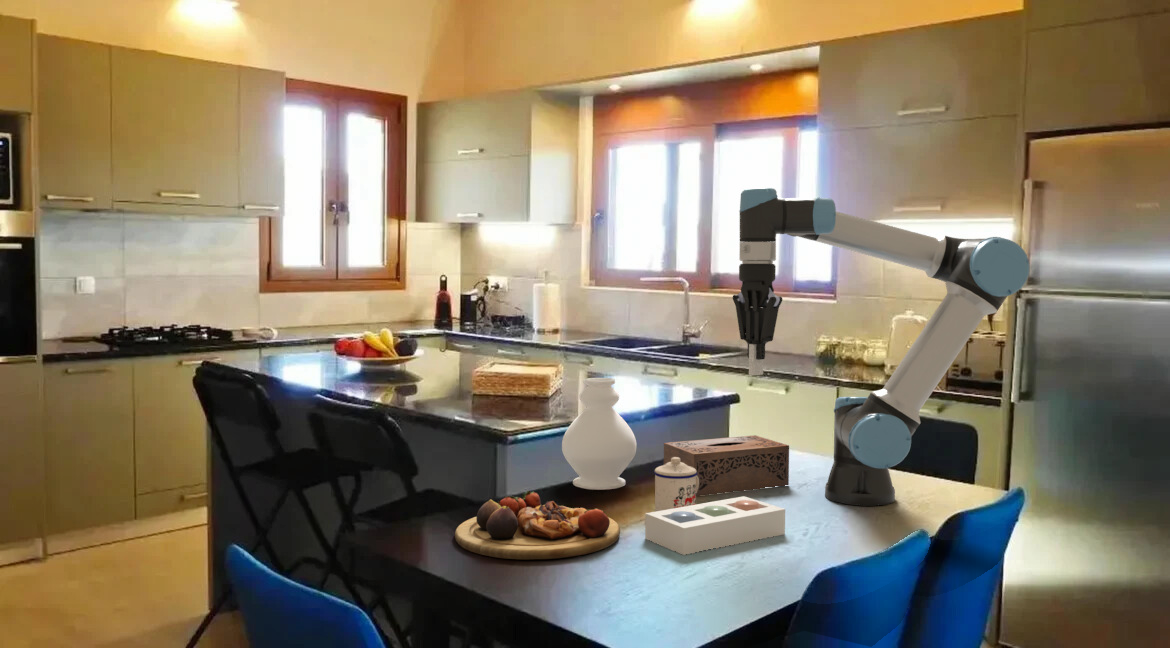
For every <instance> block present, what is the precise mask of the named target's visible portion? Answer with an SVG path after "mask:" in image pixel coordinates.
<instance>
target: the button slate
mask: <svg viewBox="0 0 1170 648" xmlns="http://www.w3.org/2000/svg"><path fill="white" fill-rule="evenodd" d="M671 520H674V521H676V522H679V523H684V522H689V521H695V514H694V513H692V512H685V511H679V512H673V513H671Z"/></svg>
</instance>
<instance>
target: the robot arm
mask: <svg viewBox="0 0 1170 648" xmlns="http://www.w3.org/2000/svg"><path fill="white" fill-rule="evenodd" d="M777 193H778V191H777V190H776V189H775V188H772V187H771V188H770V187H754V188H753V187H752V188H746V189H743V191H742V192H741V193H740V201H739V202H740V203H739V210H738V211H739V259H738V260H739V261H740V262H742V263H740V264H739V266H738V267H739V268H738V279H739V281H740V282H741V286H740V292H739V293H738V294H734V295H732V300H733V303H734V305H735V311H736V317H737V325H738V330H739V337H740V339H741V340H743V341H745V342H746V344H747V359H748V375H749V376H762V375H764V360H765V359H766V358H765V357H766V344H767V343H769V342H773V340H774V335H775V331H776V330H775V329H776V325H777V320H778V314H779V309H780V307H781V304H782V302H783V297H782V296H778V295H776V293H774V291H775V290H774V286H773V282H774V281H775V280H776V267H777V266H776V263H774V262H775V261H777V254H776V253H777V243H776V241H777V235H787V236H790V237H799V238H802V239H805V240H809V241H815V242H817V243H822V244H824V245H825V244H826V245H829V246H833V247H836V248H840V249H844V250H846V251H851V252H853V253H858V254H862V255H865V256H868V257H872V258H876V259H880V260H883V261H888V262H890V263H894V264H898V265H902V266H904V267H910V268H913V269H916V270H919V271H923V272H925V273H926V275H927V277H928V278H931V279H935V280H939V281H942V282H944V284H945V288H946V291H947V292H946V295H945V296H944V298H943V299H942V300H941V302H940V304H939V305H938V306H937V308H936V310H935V311H934V312H933V314H932V316H931V317H930V319H929V320H927V323H926V324H925V326H924V327H923V329H922V330H921V332H920V333H919V335H918V336H917V337H916V339H915V340H914V342H913V343H912V345H911V347H910V348H909V349H908V350H907V352H906V354H905V355H904V357H903V358H902V359H901V361H900V362H899V364H898V366H896V369H894V371H893V373H892V374H891V376H890V377H889V378H888V380H887V381H886V383H885V385H884V386H883V388H882V389H878V390H872V391H871V392H870V393H869V394H868V396H839V397H837V398H836V399H835V402H834V409H833V413H834V421H833V422H834V426H833V427H834V429H833V432H834V434H833V464H832V466H831V469H830V472H829V475H828V479H827V482H826V483H825V487H824V488H825V490H824V492H825V493H824V496H825V498H826V499H828V500H830V501H833V502H837V503H840V504H846V505H851V506H863V507H864V506H865V507H867V506H869V507H873V506H874V507H875V506H884V505H889V504H892V503H894V502H895V499H896V498H895V497H896V490H895V487H894V486H893V483H892V478H891V474H890V471H889V470H890V468H892V467H895V466H897V465H898V464H900V463H901V462H903V461H904V460H905V458H906V457H907V456H908V454H909V452H910V449H911V446H912V445H911V444H912V436H913V435H914V433H915V432H916V430H917V429H918V428H919V426H920V424H921V419H920V418H921V417H920V411H921V410H922V408H923V407H924V405H925V403H926V402H927V400H928V399H929V398H930V396H931V395H932V393H933V392H934V390H935V389H936V387H937V386H938V385H939V383H940V382H941V380H942V379H943V377H944V376H945V374H946V373H947V371H948V370H949V369H950V367H951V366H952V364H953V362H954V361H955V360H956V358H957V356H958V355H959V354H960V352H962V350H963V348H964V347H965V345H966V344H967V342H968V341H969V339H970V338H971V336H972V335H973V334H974V333H975V331H976V329H977V328H978V326H979V325H980V324H981V322H982V320H984V317H986V316H987V315H992V314H996V313H997V312H999V310H1000V308H1001V307H1002V305H1003V304H1004V302H1005V300H1006V299H1007V298H1008V296H1011V295H1013V294H1015V293H1017V292H1018V291H1020V290H1021V289H1022V288H1023V286H1025V284H1026V282H1027V281H1028V278H1029V276H1030V272H1031V271H1030V270H1031V268H1030V262H1029V257H1028V255H1027V253H1026V252H1025V250H1024V249H1023V248H1022V247H1021V245H1019V244H1018V243H1017V242H1015V241H1013V240H1011V239H1009V238H1004V237H1001V236H1000V237H999V236H991V237H986V238H957V237H951V236H947V235H945V234H944V235H943V234H940V235H939V236H937V237H933V236H931V235H925V234H921V233H918V232H914V231H910V230H907V229H903V228H899V227H897V226H893V225H890V224H885V223H881V222H877V221H874V220H869V219H866V218H863V217H859V216H855V215H851V214H848V213H844V212H840V211H837V209H836V203H835V201H834V200H833V199H832V198H829V197H828V198H826V197H795V198H794V197H789V198H786V197H785V198H784V197H778V195H777Z"/></svg>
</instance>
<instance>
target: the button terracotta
mask: <svg viewBox="0 0 1170 648" xmlns="http://www.w3.org/2000/svg"><path fill="white" fill-rule="evenodd" d="M735 508H738V509H741V510H744V511H749V510H754V509H759V503H758V502H755V501H750V500H741V501H737V502H735Z"/></svg>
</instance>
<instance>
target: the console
mask: <svg viewBox="0 0 1170 648" xmlns="http://www.w3.org/2000/svg"><path fill="white" fill-rule="evenodd" d="M741 500H750V501H755V502H758V503H759V509H754V510H749V511H744V510H741V509H738V508H735V502H737V501H741ZM707 506H723V507H726V508H728V514H727V515H722V516H716V517H713V516H710V515H707V514H704V507H707ZM679 511H685V512H692V513H694V514H695V521H689V522H684V523H679V522H676V521H674V520H671V513H673V512H679ZM644 515H645V517H644V518H645V519H644V521H645V523H644V524H645V525H644V530H645V531H644V532H645V533H644V534H645V535H644V537H645V538H644V540H647V541H649V540H650V541H649V542H651V541H652V542H651V543H654V544H656V543H657V545H658V544H659V545H658V546H662V547H663V548H665V549H669V550H670V551H673V552H675V551H676V552H675V553H678V554H680V555H682V556H687V555H690V553H692V554H696V553H695V552H697V553H700V552H699V551H702V552H704V551H703V550H706V551H709V550H708V549H711V550H714V549H713V548H716V549H719V547H721V548H725V546H726V547H730V546H729V545H731V546H735V545H740V544H745V543H749V541H750V542H754V540H755V541H758V539H760V540H763V539H762V538H764V539H768V538H767V537H769V538H774V537H779V536H783V535H786V530H785V529H786V508H783V507H779V506H777V505H773V504H771V503H767V502H764V501H761V500H757V499H755V498H752V497H751V498H750V497H747V496H744V495H743V496H738V497H737V496H736V497H731V498H727V499H721V500H715V501H710V502H709V501H708V502H703V503H698V504H697V503H696V505H691V506H685V507H679V508H673V509H668V510H662V511H651V512H645V514H644ZM773 536H774V537H773ZM744 542H745V543H744ZM739 543H740V544H739ZM734 544H735V545H734ZM686 554H687V555H686Z"/></svg>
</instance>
